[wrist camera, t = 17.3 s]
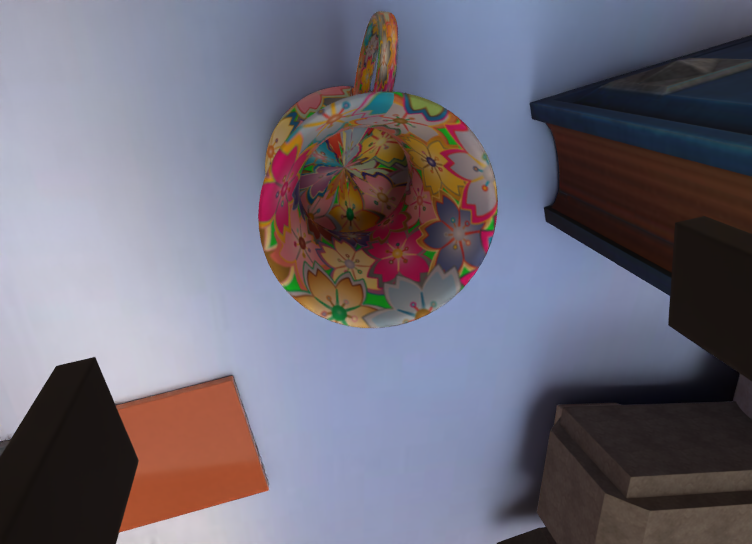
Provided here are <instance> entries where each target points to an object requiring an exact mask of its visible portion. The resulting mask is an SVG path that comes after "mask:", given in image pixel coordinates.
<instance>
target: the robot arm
mask: <svg viewBox="0 0 752 544" xmlns="http://www.w3.org/2000/svg"><path fill="white" fill-rule="evenodd" d="M668 325H669V326H670V327H672V328H673V329H675V330H676V331H678V332H679V333H681V334H682V335H684V336H685V337H687V338H688V339H690V340H691V341H693V342H694V343H696V344H697V345H699V346H700V347H702V348H703V349H705V350H706V351H707V352H709V353H710V354H712V355H713V356H715V357H716V358H718V359H719V360H721V361H722V362H724V363H725V364H727V365H728V366H730V367H731V368H733V369H734V370H736V371H737V372H739V373H740V374H742V375H743V376H744V377H746V378H747V379H749V380H750V381H752V234H751V233H748V232H746V231H743V230H740V229H738V228H735V227H732V226H730V225H727V224H724V223H722V222H719V221H717V220H714V219H711V218H709V217H706V216H702V217H698V218H693V219H689V220H685V221H680V222H676V223H675V230H674V246H673V261H672V277H671V292H670V308H669V323H668ZM138 462H139V460H138V457H137V455H136V452H135V450H134V448H133V445H132V443H131V441H130V438H129V436H128V434H127V431H126V429H125V426H124V424H123V422H122V419H121V417H120V415H119V412H118V410H117V408H116V405H115V403H114V401H113V398H112V396H111V393H110V391H109V389H108V386H107V384H106V382H105V379H104V377H103V375H102V372H101V370H100V367H99V365H98V363H97V360H96V358H95V357H93V358H89V359H84V360H80V361H76V362H71V363H67V364H63V365H59V366H56V367H55V369H54V370H53V372H52V374H51V375H50V377H49V378H48V380H47V382H46V383H45V385H44V387H43V388H42V390H41V391H40V393H39V395H38V396H37V398H36V400H35V401H34V403H33V404H32V406H31V408H30V409H29V411H28V412H27V414H26V416H25V417H24V419H23V421H22V422H21V424H20V425H19V427H18V429H17V430H16V432H15V433H14V435H13V437H12V438H11V440H10V442H9V443H8V445H7V446H6V448H5V450H4V451H3V453H2V455H1V456H0V544H116V541H117V538H118V534H119V531H120V527H121V523H122V520H123V516H124V513H125V509H126V505H127V502H128V498H129V495H130V491H131V487H132V484H133V480H134V477H135V473H136V469H137V466H138Z"/></svg>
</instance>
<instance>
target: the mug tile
mask: <svg viewBox="0 0 752 544" xmlns="http://www.w3.org/2000/svg"><path fill="white" fill-rule="evenodd" d="M116 408H117V410H118V412H119V415H120V417H121V419H122V422H123V424H124V426H125V429H126V431H127V434H128V436H129V438H130V441H131V443H132V445H133V448H134V450H135V452H136V455H137V457H138V460H139V462H138V466H137V469H136V473H135V477H134V480H133V484H132V487H131V491H130V495H129V498H128V502H127V505H126V509H125V513H124V516H123V520H122V523H121V527H120V531H119V532H123V531H126V530H130V529H133V528H137V527H141V526H144V525H148V524H151V523H155V522H158V521H162V520H165V519H169V518H172V517H176V516H180V515H183V514H187V513H190V512H194V511H197V510H201V509H204V508H208V507H212V506H215V505H219V504H222V503H226V502H229V501H233V500H236V499H240V498H244V497H247V496H251V495H254V494H258V493H261V492H265V491H268V490H269V484H268V481H267V478H266V475H265V471H264V468H263V465H262V462H261V459H260V456H259V453H258V450H257V447H256V444H255V441H254V438H253V435H252V432H251V429H250V426H249V423H248V420H247V417H246V414H245V411H244V408H243V405H242V402H241V399H240V396H239V393H238V390H237V387H236V383H235V380H234V377H233V376H229V377H225V378H221V379H217V380H213V381H209V382H205V383H201V384H197V385H194V386H190V387H186V388H182V389H178V390H174V391H170V392H166V393H162V394H158V395H154V396H151V397H147V398H143V399H139V400H135V401H131V402H127V403H123V404H119V405H116Z"/></svg>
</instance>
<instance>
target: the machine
mask: <svg viewBox="0 0 752 544" xmlns="http://www.w3.org/2000/svg"><path fill="white" fill-rule="evenodd" d="M537 514H538V515H539V517H540V518H541V520H542V521H543V523H544V524H545V526H546V527H543V528H537V529H535V530H532V531H529V532H526V533H523V534H520V535H518V536H515V537H512V538H509V539H506V540H504V541H501V542H498V543H497V544H752V381H750V380H749V379H747V378H746V377H744V376H743V375H742V374H740V375H739V379H738V383H737V387H736V391H735V394H734V398H733V401H732V402H701V403H669V404H637V405H620V404H618V403H591V404H558V405H557V409H556V415H555V421H554V426H553V427H552V428H551V430H550V435H549V441H548V447H547V453H546V460H545V466H544V472H543V478H542V484H541V490H540V496H539V502H538V508H537Z"/></svg>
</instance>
